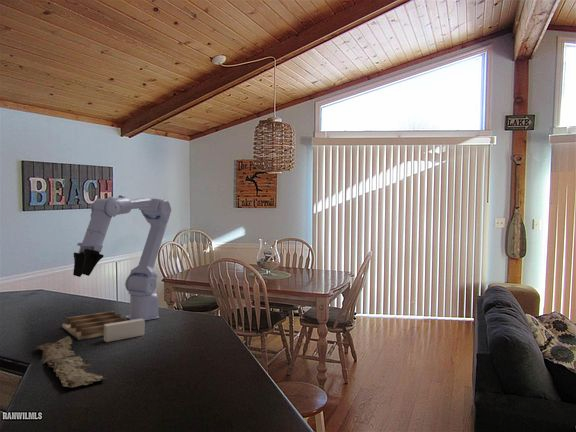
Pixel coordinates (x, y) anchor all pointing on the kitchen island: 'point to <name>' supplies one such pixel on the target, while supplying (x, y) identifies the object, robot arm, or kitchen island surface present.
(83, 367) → the rock fragment
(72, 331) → the drying rack
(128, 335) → the clay bar
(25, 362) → the kitchen island surface
